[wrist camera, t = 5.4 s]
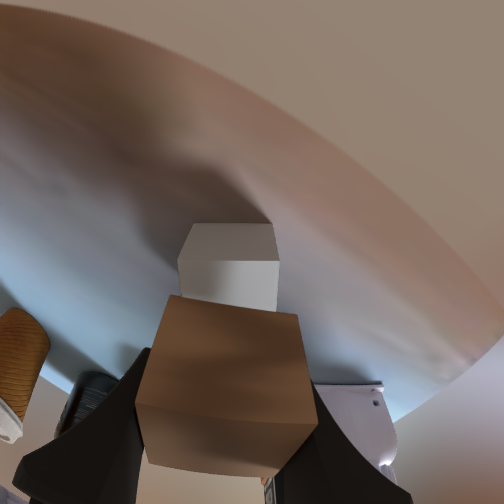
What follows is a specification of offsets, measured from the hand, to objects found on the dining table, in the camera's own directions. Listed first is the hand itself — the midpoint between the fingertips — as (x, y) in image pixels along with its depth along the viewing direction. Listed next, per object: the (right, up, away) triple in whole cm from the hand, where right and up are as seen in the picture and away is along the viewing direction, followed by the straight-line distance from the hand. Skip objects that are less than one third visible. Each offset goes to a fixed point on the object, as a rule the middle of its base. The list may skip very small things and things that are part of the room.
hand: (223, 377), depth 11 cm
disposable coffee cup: (-23, -3, +13) cm, 26 cm away
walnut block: (0, +1, +1) cm, 2 cm away
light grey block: (0, +5, +9) cm, 10 cm away
